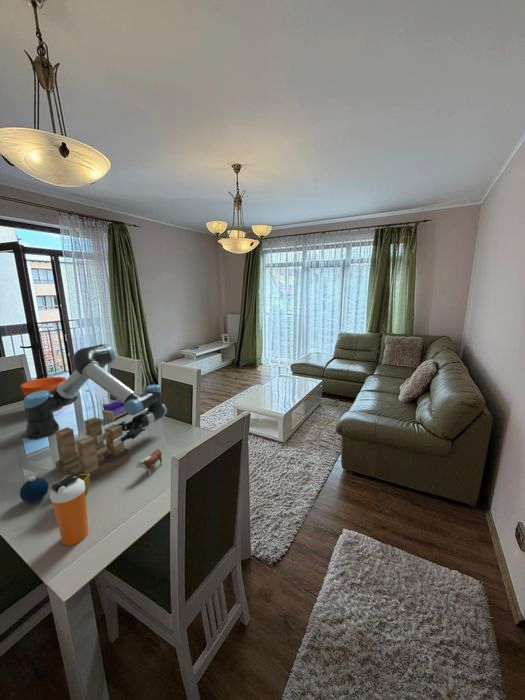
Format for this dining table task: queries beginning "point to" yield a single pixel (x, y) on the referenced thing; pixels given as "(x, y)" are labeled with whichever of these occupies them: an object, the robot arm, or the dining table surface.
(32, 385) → the flowerpot
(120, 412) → the toy sofa
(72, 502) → the shaker bottle
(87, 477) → the flower pot
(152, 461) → the bull figurine
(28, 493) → the christmas ornament
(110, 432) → the stool leg
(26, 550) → the dining table surface
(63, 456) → the tan post-studded fixture
